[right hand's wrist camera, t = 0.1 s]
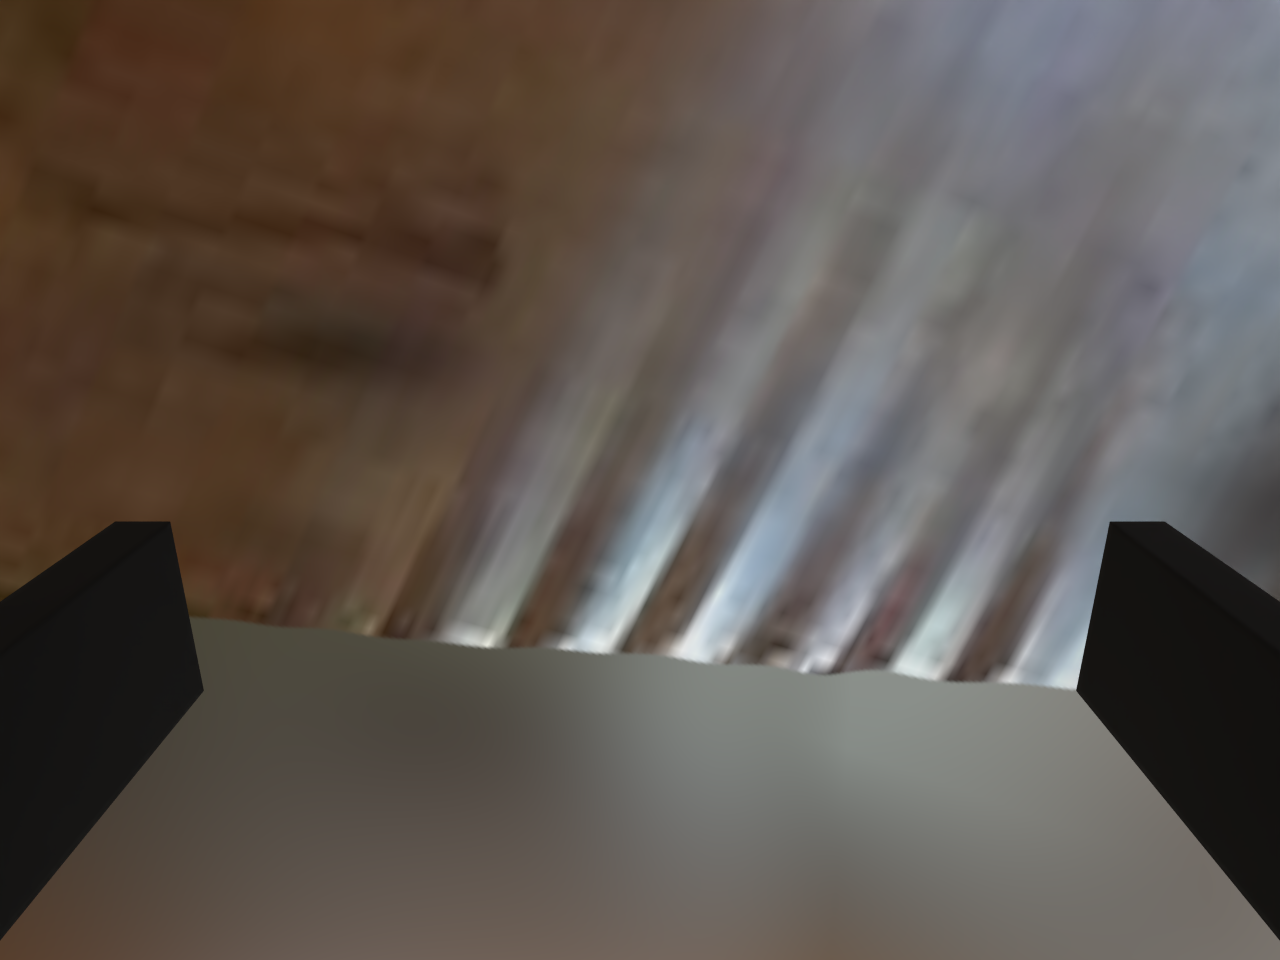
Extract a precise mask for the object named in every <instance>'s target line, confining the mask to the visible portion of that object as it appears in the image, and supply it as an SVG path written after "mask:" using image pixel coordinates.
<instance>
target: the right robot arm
mask: <svg viewBox="0 0 1280 960" xmlns="http://www.w3.org/2000/svg"><path fill="white" fill-rule="evenodd" d="M203 691H204V689H203V685H202V679H201V674H200V669H199V664H198V659H197V655H196V649H195V644H194V639H193V634H192V629H191V624H190V619H189V614H188V609H187V604H186V599H185V594H184V589H183V584H182V579H181V574H180V569H179V564H178V559H177V554H176V549H175V544H174V539H173V534H172V529H171V524H170V522H114V523H113V524H111V525H110V526H108V527H107V528H105V529H104V530H103V531H101V532H100V533H98V534H97V535H95V536H94V537H93V538H91V539H90V540H88V541H87V542H85V543H84V544H82V545H81V546H80V547H78V548H77V549H75V550H74V551H72V552H71V553H70V554H68V555H67V556H65V557H64V558H62V559H61V560H60V561H58V562H57V563H55V564H54V565H52V566H51V567H50V568H48V569H47V570H45V571H44V572H42V573H41V574H39V575H38V576H37V577H35V578H34V579H32V580H31V581H29V582H28V583H27V584H25V585H24V586H22V587H21V588H19V589H18V590H17V591H15V592H14V593H12V594H11V595H9V596H8V597H7V598H5V599H4V600H2V601H1V602H0V940H1V939H2V938H3V936H4V935H5V934H6V933H7V931H8V930H9V929H10V928H11V926H12V925H13V924H14V923H15V922H16V920H17V919H18V918H19V917H20V915H21V914H22V913H23V912H24V911H25V909H26V908H27V907H28V906H29V904H30V903H31V902H32V901H33V899H34V898H35V897H36V896H37V895H38V893H39V892H40V891H41V890H42V888H43V887H44V886H45V885H46V884H47V882H48V881H49V880H50V879H51V877H52V876H53V875H54V874H55V872H56V871H57V870H58V869H59V868H60V866H61V865H62V864H63V863H64V862H65V860H66V859H67V858H68V857H69V855H70V854H71V853H72V852H73V850H74V849H75V848H76V847H77V846H78V844H79V843H80V842H81V841H82V839H83V838H84V837H85V836H86V834H87V833H88V832H89V831H90V830H91V828H92V827H93V826H94V825H95V823H96V822H97V821H98V820H99V819H100V817H101V816H102V815H103V814H104V812H105V811H106V810H107V809H108V808H109V806H110V805H111V804H112V803H113V801H114V800H115V799H116V798H117V796H118V795H119V794H120V793H121V792H122V790H123V789H124V788H125V787H126V785H127V784H128V783H129V782H130V781H131V779H132V778H133V777H134V776H135V774H136V773H137V772H138V771H139V769H140V768H141V767H142V766H143V765H144V763H145V762H146V761H147V760H148V758H149V757H150V756H151V755H152V754H153V752H154V751H155V750H156V749H157V747H158V746H159V745H160V744H161V742H162V741H163V740H164V739H165V738H166V736H167V735H168V734H169V733H170V731H171V730H172V729H173V728H174V727H175V725H176V724H177V723H178V722H179V720H180V719H181V718H182V717H183V715H184V714H185V713H186V712H187V711H188V709H189V708H190V707H191V706H192V704H193V703H194V702H195V701H196V699H197V698H198V697H199V696H200V695H201V693H202V692H203ZM1076 691H1077V692H1078V693H1079V695H1080V696H1081V697H1082V698H1083V700H1084V701H1085V702H1086V703H1087V704H1088V706H1089V707H1090V708H1091V709H1092V711H1093V712H1094V713H1095V714H1096V716H1097V717H1098V718H1099V719H1100V720H1101V722H1102V723H1103V724H1104V725H1105V726H1106V728H1107V729H1108V730H1109V731H1110V733H1111V734H1112V735H1113V736H1114V737H1115V739H1116V740H1117V741H1118V742H1119V744H1120V745H1121V746H1122V747H1123V749H1124V750H1125V751H1126V752H1127V754H1128V755H1129V756H1130V757H1131V758H1132V760H1133V761H1134V762H1135V763H1136V765H1137V766H1138V767H1139V768H1140V769H1141V771H1142V772H1143V773H1144V774H1145V776H1146V777H1147V778H1148V779H1149V781H1150V782H1151V783H1152V784H1153V785H1154V787H1155V788H1156V789H1157V790H1158V792H1159V793H1160V794H1161V795H1162V796H1163V798H1164V799H1165V800H1166V801H1167V803H1168V804H1169V805H1170V806H1171V808H1172V809H1173V810H1174V811H1175V812H1176V814H1177V815H1178V816H1179V817H1180V819H1181V820H1182V821H1183V822H1184V823H1185V825H1186V826H1187V827H1188V828H1189V830H1190V831H1191V832H1192V833H1193V835H1194V836H1195V837H1196V838H1197V839H1198V841H1199V842H1200V843H1201V844H1202V846H1203V847H1204V848H1205V849H1206V850H1207V852H1208V853H1209V854H1210V855H1211V857H1212V858H1213V859H1214V860H1215V862H1216V863H1217V864H1218V865H1219V866H1220V868H1221V869H1222V870H1223V871H1224V873H1225V874H1226V875H1227V876H1228V877H1229V879H1230V880H1231V881H1232V882H1233V884H1234V885H1235V886H1236V887H1237V888H1238V890H1239V891H1240V892H1241V893H1242V895H1243V896H1244V897H1245V898H1246V899H1247V901H1248V902H1249V903H1250V904H1251V906H1252V907H1253V908H1254V909H1255V911H1256V912H1257V913H1258V914H1259V915H1260V917H1261V918H1262V919H1263V920H1264V922H1265V923H1266V924H1267V925H1268V927H1269V928H1270V929H1271V930H1272V931H1273V933H1274V934H1275V935H1276V936H1277V938H1278V939H1279V940H1280V602H1279V601H1278V600H1276V599H1275V598H1273V597H1272V596H1271V595H1269V594H1268V593H1266V592H1265V591H1263V590H1262V589H1261V588H1259V587H1258V586H1256V585H1255V584H1253V583H1252V582H1251V581H1249V580H1248V579H1246V578H1245V577H1243V576H1242V575H1241V574H1239V573H1238V572H1236V571H1235V570H1233V569H1232V568H1230V567H1229V566H1228V565H1226V564H1225V563H1223V562H1222V561H1220V560H1219V559H1218V558H1216V557H1215V556H1213V555H1212V554H1210V553H1209V552H1208V551H1206V550H1205V549H1203V548H1202V547H1200V546H1199V545H1198V544H1196V543H1195V542H1193V541H1192V540H1190V539H1189V538H1187V537H1186V536H1185V535H1183V534H1182V533H1180V532H1179V531H1177V530H1176V529H1175V528H1173V527H1172V526H1170V525H1169V524H1167V523H1166V522H1110V524H1109V529H1108V534H1107V539H1106V544H1105V549H1104V554H1103V559H1102V564H1101V569H1100V574H1099V579H1098V584H1097V589H1096V594H1095V599H1094V604H1093V609H1092V614H1091V619H1090V624H1089V629H1088V634H1087V639H1086V644H1085V649H1084V654H1083V659H1082V664H1081V669H1080V674H1079V679H1078V684H1077V689H1076Z"/></svg>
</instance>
